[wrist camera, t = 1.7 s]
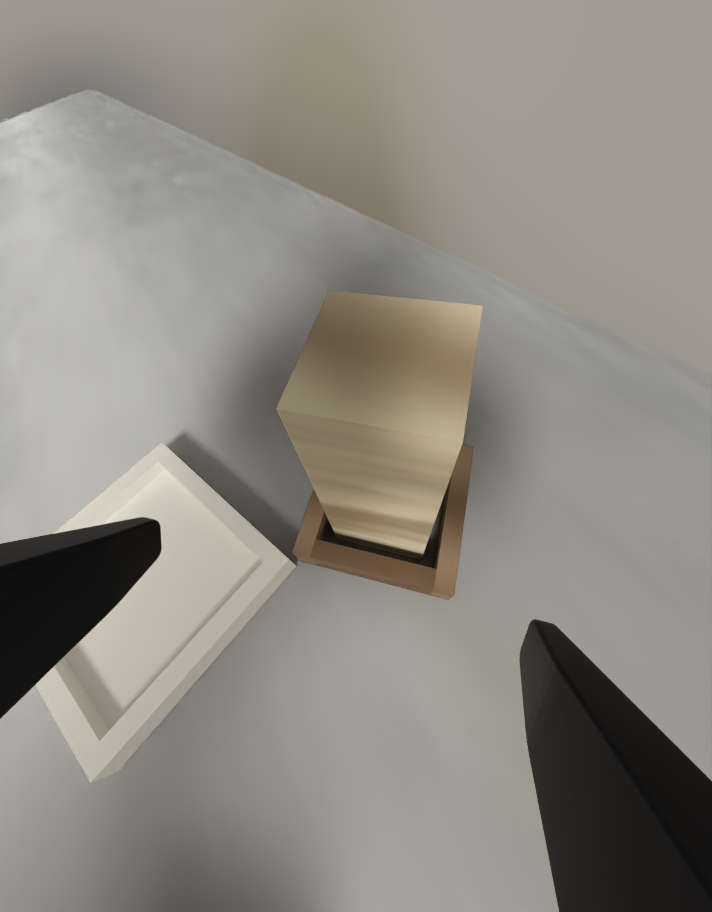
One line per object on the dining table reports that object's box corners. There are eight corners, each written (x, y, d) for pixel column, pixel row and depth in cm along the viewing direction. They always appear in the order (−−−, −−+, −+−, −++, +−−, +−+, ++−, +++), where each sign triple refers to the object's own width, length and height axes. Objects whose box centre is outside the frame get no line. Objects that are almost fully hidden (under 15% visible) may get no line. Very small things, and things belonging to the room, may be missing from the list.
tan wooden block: (421, 559, 20) (463, 441, 9) (337, 538, 21) (275, 409, 10) (435, 481, 22) (483, 305, 11) (358, 465, 23) (329, 290, 12)
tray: (118, 770, 17) (90, 783, 15) (13, 596, 21) (-17, 592, 19) (296, 566, 20) (288, 559, 19) (176, 455, 25) (162, 442, 23)
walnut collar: (448, 599, 19) (454, 594, 17) (300, 560, 21) (291, 552, 19) (467, 462, 23) (473, 446, 21) (340, 438, 24) (336, 422, 23)
